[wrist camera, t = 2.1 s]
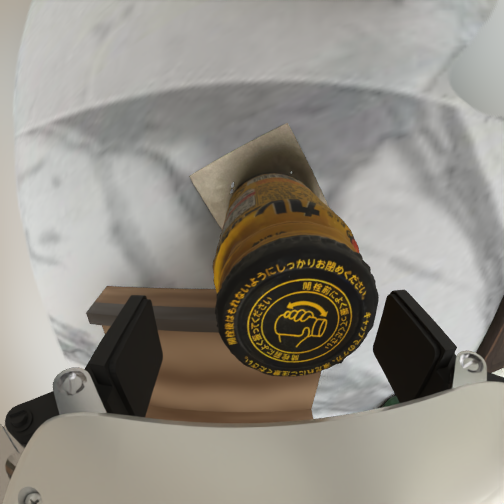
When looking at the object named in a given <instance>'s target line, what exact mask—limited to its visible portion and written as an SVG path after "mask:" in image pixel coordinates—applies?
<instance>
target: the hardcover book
mask: <svg viewBox="0 0 504 504" xmlns="http://www.w3.org/2000/svg"><path fill="white" fill-rule="evenodd" d="M476 353H477V354H478V355H480V356H481V357H482V358H483V359H484V361H485V362H486V366H487V372H489V373H492V372H495V371H497V370H499V369H501V368H504V296H503V299H502V301H501V303H500V306H499V308H498V310H497V313H496V315H495V317H494V319H493V321H492V323H491V325H490V327H489V329H488V331H487V333H486V335H485V337H484V339H483V341H482V343H481V345H480V347H479V349H478V350H477V352H476Z"/></svg>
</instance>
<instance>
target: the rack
mask: <svg viewBox="0 0 504 504" xmlns="http://www.w3.org/2000/svg"><path fill="white" fill-rule="evenodd" d="M131 295H145V296H146V297H147V299H150V300H151V301H152V306H153V311H154V316H155V321H156V325H157V330H158V334H159V339H160V343H161V347H162V351H163V361H162V364H161V367H160V370H159V373H158V376H157V380H156V383H155V386H154V389H153V393H152V396H151V399H150V403H149V406H148V409H147V413H146V416H145V418H153V419H162V420H173V421H186V422H201V423H272V422H288V421H300V420H310V419H313V416H312V411H311V408H312V404H313V401H314V397H315V393H316V389H317V386H318V382H319V378H320V374H321V371H320V372H317V373H314V374H308V375H302V376H294V377H287V376H271V375H267V374H264V373H262V372H260V371H258V370H255V369H253V368H250V367H247V366H245V365H243V364H242V363H241V362H240V361H239V360H238V359H237V358H236V357H235V356H234V355H233V354H231V352H230V350H229V349H228V348H227V346H226V345H225V344H224V342H223V340H222V339H221V337H220V334H219V332H218V327H217V321H216V315H215V305H216V301H217V299H216V297H217V292H216V289H173V288H138V287H114V286H107V287H106V288H105V289H104V291H103V292H102V293H101V294H100V296H99V297H98V298H97V299H96V301H95V302H94V303H93V305H92V306H91V307H90V309H89V310H88V311H87V313H86V314H87V317H88V319H89V322H90V324H96V325H102V327H103V330H104V332H105V334H106V332H107V331H108V329H109V328H110V327H111V325H112V324H113V322H114V321H115V319H116V317H117V316H118V314H119V313H120V311H121V310H122V308H123V307H124V305H125V304H126V302H127V300H128V299H129V297H130V296H131Z"/></svg>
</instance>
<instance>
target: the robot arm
mask: <svg viewBox="0 0 504 504" xmlns="http://www.w3.org/2000/svg"><path fill="white" fill-rule="evenodd" d="M456 348H457V347H456V346H455V344H454V343H453V342H452V341H451V340H450V338H449V337H448V336H447V335H446V334H445V333H444V331H443V330H442V329H441V328H440V327H439V326H438V325H437V324H436V322H435V321H434V320H433V319H432V318H431V317H430V316H429V315H428V314H427V312H426V311H425V310H424V309H423V308H422V307H421V306H420V305H419V304H418V303H417V302H416V301H415V300H414V298H413V297H412V296H411V295H410V294H409V293H408V292H407V291H406V290H395V291H392V292H391V293H390V294H389V295H388V296H387V298H386V302H385V306H384V310H383V314H382V318H381V321H380V325H379V328H378V332H377V335H376V338H375V342H374V345H373V352H374V355H375V357H376V358H377V360H378V362H379V364H380V366H381V368H382V370H383V371H384V373H385V375H386V377H387V379H388V381H389V383H390V385H391V387H392V389H393V391H394V393H395V395H396V397H397V399H398V401H399V404H395V405H391V406H387V407H383V408H378V409H373V410H368V411H363V412H358V413H352V414H346V415H340V416H333V417H326V418H318V419H310V420H300V421H288V422H272V423H201V422H186V421H173V420H162V419H153V418H145V416H146V413H147V409H148V406H149V403H150V399H151V396H152V393H153V389H154V386H155V383H156V380H157V376H158V373H159V370H160V367H161V364H162V361H163V351H162V347H161V343H160V339H159V334H158V330H157V325H156V321H155V316H154V311H153V306H152V301H151V300H150V299H147V297H146V296H145V295H131V296H130V297H129V299H128V300H127V302H126V304H125V305H124V307H123V308H122V310H121V311H120V313H119V314H118V316H117V317H116V319H115V321H114V322H113V324H112V325H111V327H110V328H109V329H108V331H107V332H106V334H105V336H104V337H103V339H102V340H101V342H100V344H99V345H98V347H97V349H96V350H95V352H94V354H93V355H92V357H91V359H90V361H89V362H88V364H87V366H86V367H85V369H82V368H69V369H66V370H64V371H62V372H61V373H60V374H58V375H57V376H56V378H55V379H54V382H53V392H50V393H48V394H45V395H43V396H40V397H38V398H35V399H33V400H30V401H27V402H25V403H22V404H20V405H17V406H15V407H13V408H12V409H11V410H10V411H9V412H8V414H7V416H6V420H5V426H4V427H3V426H2V425H1V424H0V504H504V378H503V377H500V376H497V375H495V374H492V373H489V372H487V366H486V362H485V361H484V359H483V358H482V357H481V356H480V355H478V354H477V353H475V352H472V351H462V352H460V353H459V354H458V355H457V356H456V355H455V350H456Z"/></svg>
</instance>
